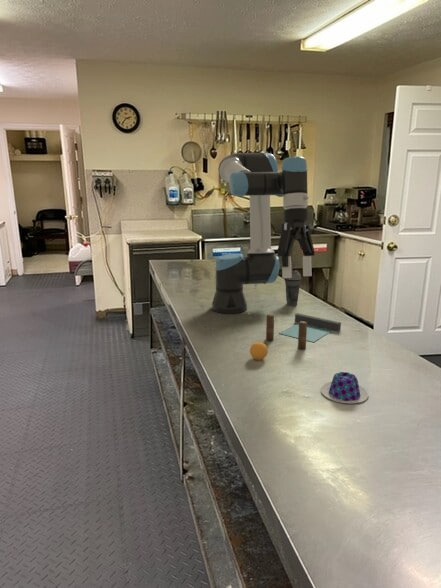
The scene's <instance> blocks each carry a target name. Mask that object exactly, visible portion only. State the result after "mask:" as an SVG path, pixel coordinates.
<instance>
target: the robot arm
mask: <svg viewBox="0 0 441 588" xmlns="http://www.w3.org/2000/svg"><path fill="white" fill-rule="evenodd" d="M217 169H218V174H219V177H220V178H221V179H222V180H223V182H225V183H228V184H229V191H230V192H229V193H230V194H231V195H232V196H238V197H248V196H249V226H250V227H249V230H250V231H249V232H250V233H249V234H250V235H249V237H250V249H249V250H248V251H247V252H246V253H247V255H246V256H244V254H242V253H239V252H237V253H235V252H234V253H228V254H227V253H226V254H223V255H220V256H218V257H217V259H215V267H214V270H215V293H214V296H213V300H212V302H211V309H212V310H213V311H214V312H216V313H219V314H220V313H221V314H239V313H243V312H245V311H247V310H248V302H247V300H246V296H245V293H244V285H260V284H261V285H262V284H264V285H267V284H272V283H273V284H274V283H275V282H276V281H277V280H278V279H277V278H278V276H279V271H280V257H281V273H282V274H281V276H282V277H281V278H282V279H285V278H292V273H291V262H292V256H290V254H291V251H292V248H293V246H294V243H295V241H297V242H298V244H299V246H300V249H301V251H302V254H303V256H302V276H303V277H312V276H313V275H312V271H313V270H312V269H313V268H312V256H315V249H314V247H315V246H314V244H313V239H312V235H311V231H310V228H311V227H310V225H309V224H306V225H305V222H307V221H309V209H308V203H309V201H308V200H309V196H308V164H307V160H306V158H305V157H303V156H289V157H286V158H284V159H283V160H282V162H281V171H279V167H278V163H277V158H276V157H275V155H274V154H272V153H269V152H235V153H232V154H228V155H226V156H225V157H224V158H222V159H221V161H220V162H219V164H218V168H217ZM271 196H275V197H278V198H282V204H283V207H282V208H283V209H284V210H283V222H284V223H282V224H281V232H280V238H279V242H278V246H277V252H276V253H277V255H275V254H276V253H275V250H274V249H272V240H271V239H272V237H271V236H272V235H271V233H272V232H271V228H272V227H271Z"/></svg>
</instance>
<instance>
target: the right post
mask: <svg viewBox="0 0 441 588" xmlns="http://www.w3.org/2000/svg"><path fill="white" fill-rule="evenodd" d="M306 334H307V322H304V321H300V322H299V333H298V338H297V349H298V350H299V351H300V350H301V351H304V350H306V349H307V341H306Z"/></svg>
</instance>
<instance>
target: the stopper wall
mask: <svg viewBox="0 0 441 588" xmlns="http://www.w3.org/2000/svg"><path fill="white" fill-rule="evenodd" d="M294 315H295V316H294V323H299V322H300V321H304V322H307V325H309V326H313V327H317V328H322V329H326V330H331V331H332V332H333V331H334V332H338V333H339V332H340V331H341V327H342V326H341V325H342V322H340V321H335V320H331V319H326V318H321V317H316V316H311V315H308V314H302V313H296V314H294Z"/></svg>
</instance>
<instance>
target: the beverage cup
mask: <svg viewBox="0 0 441 588" xmlns="http://www.w3.org/2000/svg"><path fill="white" fill-rule="evenodd" d="M291 273H292V278H284V284H285V297H286V299H285V300H286V305H287V306H291V307H292V306H293V307H294V306H297V305H298V301H299V293H300V286H301V285H300V284H301V282H302V277H301V276H302V275H301V273H300V272H299V271H298V270H297V269H293V264H292V261H291Z"/></svg>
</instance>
